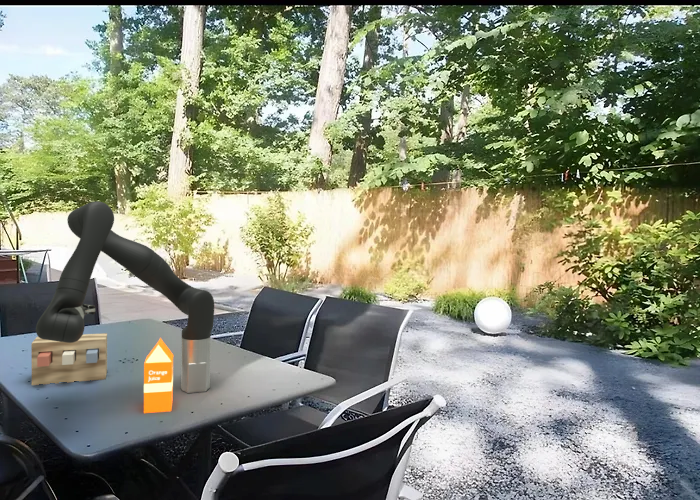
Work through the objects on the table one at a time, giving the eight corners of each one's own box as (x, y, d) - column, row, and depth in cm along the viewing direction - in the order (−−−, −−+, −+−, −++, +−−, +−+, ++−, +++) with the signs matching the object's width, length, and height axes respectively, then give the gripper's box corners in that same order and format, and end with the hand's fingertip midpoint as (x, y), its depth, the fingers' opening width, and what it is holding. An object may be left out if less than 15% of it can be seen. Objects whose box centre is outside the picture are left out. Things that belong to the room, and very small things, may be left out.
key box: (105, 379, 177) (105, 339, 176) (31, 385, 168) (31, 343, 168) (107, 371, 186) (107, 333, 185) (37, 376, 178) (36, 336, 177)
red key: (48, 366, 165) (48, 356, 165) (37, 366, 164) (37, 357, 164) (53, 357, 176) (53, 348, 175) (42, 358, 174) (42, 348, 174)
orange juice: (143, 413, 147) (143, 344, 146) (146, 402, 156) (146, 337, 155) (171, 411, 150) (172, 343, 148) (173, 400, 158) (174, 336, 157)
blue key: (96, 362, 171) (96, 353, 171) (86, 363, 170) (86, 353, 170) (99, 354, 181) (99, 345, 181) (88, 355, 180) (88, 346, 180)
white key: (73, 364, 168) (73, 354, 168) (62, 365, 167) (62, 355, 167) (76, 355, 178) (76, 346, 178) (66, 356, 177) (66, 347, 177)
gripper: (94, 301, 147) (98, 293, 163) (41, 303, 142) (51, 294, 158) (94, 327, 147) (98, 316, 163) (41, 330, 142) (51, 318, 158)
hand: (75, 305), depth 160 cm, fingers closed
